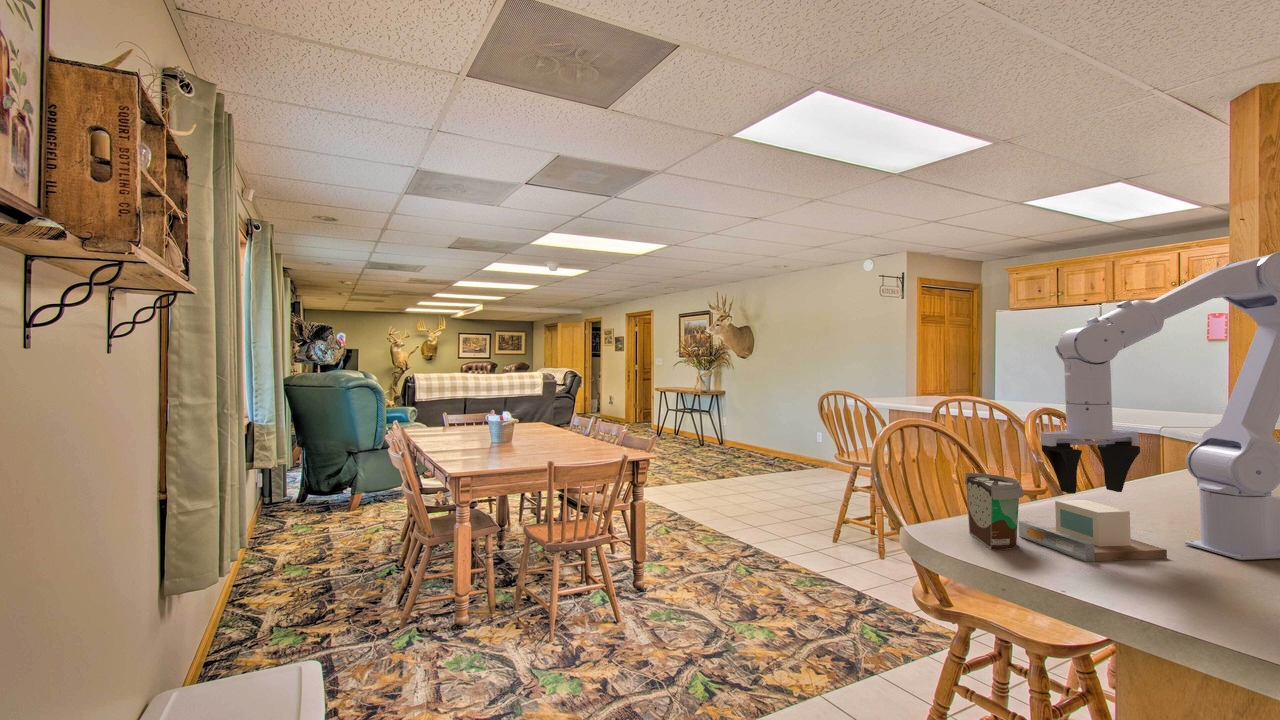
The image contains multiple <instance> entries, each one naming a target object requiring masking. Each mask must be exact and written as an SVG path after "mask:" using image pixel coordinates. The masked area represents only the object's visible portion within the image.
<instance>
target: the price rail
mask: <svg viewBox="0 0 1280 720" xmlns="http://www.w3.org/2000/svg"><path fill="white" fill-rule="evenodd" d="M1050 528H1051V527H1046V526H1045V525H1040V524H1037V523H1035V522H1033V521H1029V520H1019V521H1018V536H1019V537H1020V538H1022V539H1026V540H1029V541H1031V542H1033V543H1035V544H1039V545H1041V546H1044V547H1047V548H1048V549H1052V550H1054V551H1057V552H1059V553H1062V554H1063V555H1064V554H1065V555H1066V556H1067V555H1068V556H1070V557H1073V558H1075V559H1078V560H1081V561H1083V562H1086V563H1087V562H1096V561H1095V553H1094V543H1091V542H1088V541H1085V540H1082V539H1079V538H1076V537H1073V536H1070V535H1068V534H1065V533H1062V532H1059V531H1056V530H1053V529H1050Z"/></svg>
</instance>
